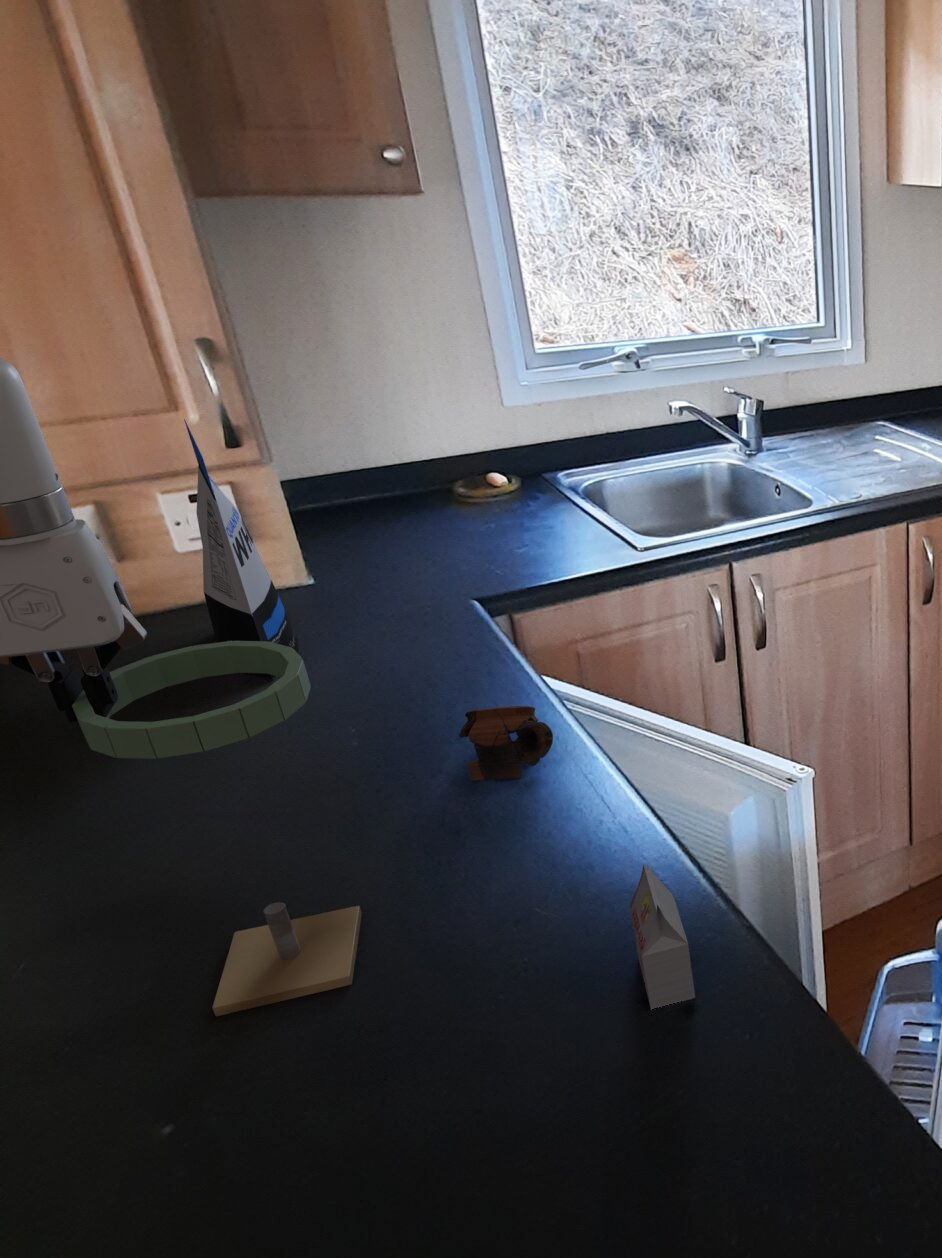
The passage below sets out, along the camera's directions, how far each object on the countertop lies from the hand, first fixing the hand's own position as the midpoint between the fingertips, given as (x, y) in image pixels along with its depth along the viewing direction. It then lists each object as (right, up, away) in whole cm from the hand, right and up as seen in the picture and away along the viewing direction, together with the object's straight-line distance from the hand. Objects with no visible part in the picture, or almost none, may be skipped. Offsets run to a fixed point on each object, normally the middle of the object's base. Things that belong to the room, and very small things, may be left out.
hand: (92, 711), depth 93 cm
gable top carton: (+52, -23, -2) cm, 57 cm away
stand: (+19, -22, -1) cm, 29 cm away
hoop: (+7, 0, +3) cm, 8 cm away
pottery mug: (+25, -7, +28) cm, 39 cm away
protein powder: (-21, +7, +54) cm, 59 cm away
